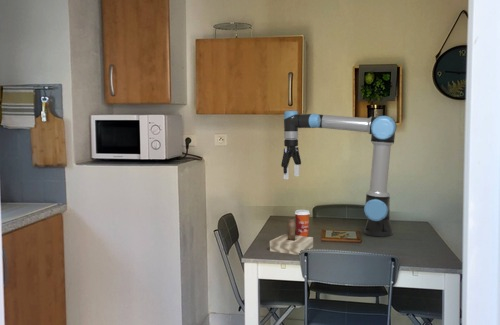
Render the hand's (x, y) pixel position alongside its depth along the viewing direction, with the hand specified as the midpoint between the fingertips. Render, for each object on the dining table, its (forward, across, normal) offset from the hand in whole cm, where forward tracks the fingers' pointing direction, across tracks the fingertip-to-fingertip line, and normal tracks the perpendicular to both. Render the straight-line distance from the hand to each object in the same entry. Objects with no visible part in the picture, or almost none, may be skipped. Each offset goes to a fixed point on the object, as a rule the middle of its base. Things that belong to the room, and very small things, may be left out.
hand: (291, 177), depth 273 cm
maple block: (+32, +28, +13) cm, 44 cm away
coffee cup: (+32, +6, +9) cm, 34 cm away
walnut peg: (+32, +28, +13) cm, 44 cm away
